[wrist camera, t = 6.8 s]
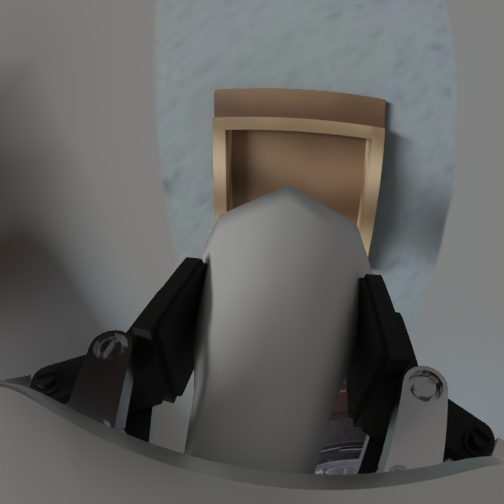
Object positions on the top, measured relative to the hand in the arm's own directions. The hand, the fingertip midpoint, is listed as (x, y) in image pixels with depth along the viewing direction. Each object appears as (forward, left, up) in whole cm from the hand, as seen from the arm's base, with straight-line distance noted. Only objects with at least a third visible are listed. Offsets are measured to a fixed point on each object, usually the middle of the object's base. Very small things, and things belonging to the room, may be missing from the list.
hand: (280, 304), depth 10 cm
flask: (0, 0, -2) cm, 2 cm away
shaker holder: (0, 0, -16) cm, 16 cm away
